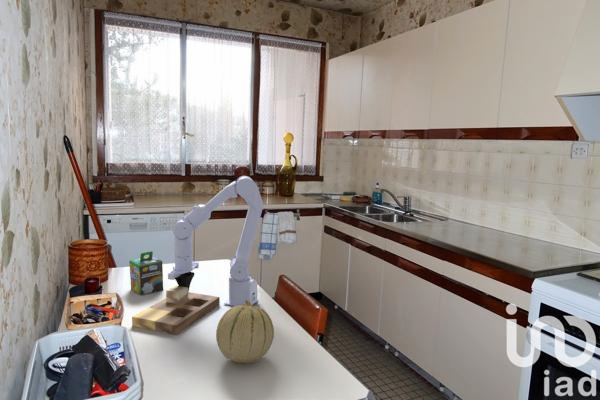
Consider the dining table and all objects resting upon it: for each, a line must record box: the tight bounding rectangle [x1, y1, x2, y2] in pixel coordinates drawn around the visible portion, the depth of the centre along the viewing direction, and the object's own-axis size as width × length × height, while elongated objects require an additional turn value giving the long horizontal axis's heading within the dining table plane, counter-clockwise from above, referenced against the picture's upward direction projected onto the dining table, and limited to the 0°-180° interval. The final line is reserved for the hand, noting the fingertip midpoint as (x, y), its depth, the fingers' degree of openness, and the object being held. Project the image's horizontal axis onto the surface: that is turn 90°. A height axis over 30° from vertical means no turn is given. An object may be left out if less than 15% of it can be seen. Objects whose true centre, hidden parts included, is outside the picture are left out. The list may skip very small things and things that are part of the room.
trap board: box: [131, 291, 221, 336], centre depth 137 cm, size 16×24×3 cm, turn 160°
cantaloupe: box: [215, 301, 275, 364], centre depth 109 cm, size 15×15×15 cm
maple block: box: [165, 285, 188, 304], centre depth 141 cm, size 5×5×4 cm
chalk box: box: [128, 251, 164, 296], centre depth 159 cm, size 9×9×15 cm
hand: (184, 293), depth 145 cm, fingers closed
